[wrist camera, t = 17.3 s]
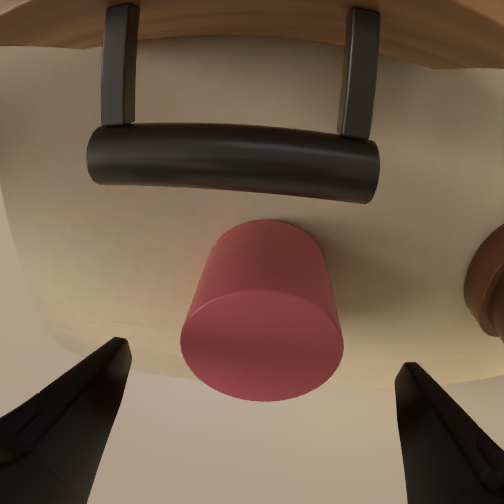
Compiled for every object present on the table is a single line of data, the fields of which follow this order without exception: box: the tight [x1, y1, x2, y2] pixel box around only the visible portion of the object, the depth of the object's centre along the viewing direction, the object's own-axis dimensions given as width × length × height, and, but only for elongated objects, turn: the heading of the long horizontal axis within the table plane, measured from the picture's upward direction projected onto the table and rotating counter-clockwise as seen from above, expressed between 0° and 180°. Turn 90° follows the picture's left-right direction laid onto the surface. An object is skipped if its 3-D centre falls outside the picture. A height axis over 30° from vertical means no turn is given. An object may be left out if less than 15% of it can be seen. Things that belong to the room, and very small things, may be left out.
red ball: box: [180, 220, 344, 401], centre depth 12 cm, size 5×5×5 cm
